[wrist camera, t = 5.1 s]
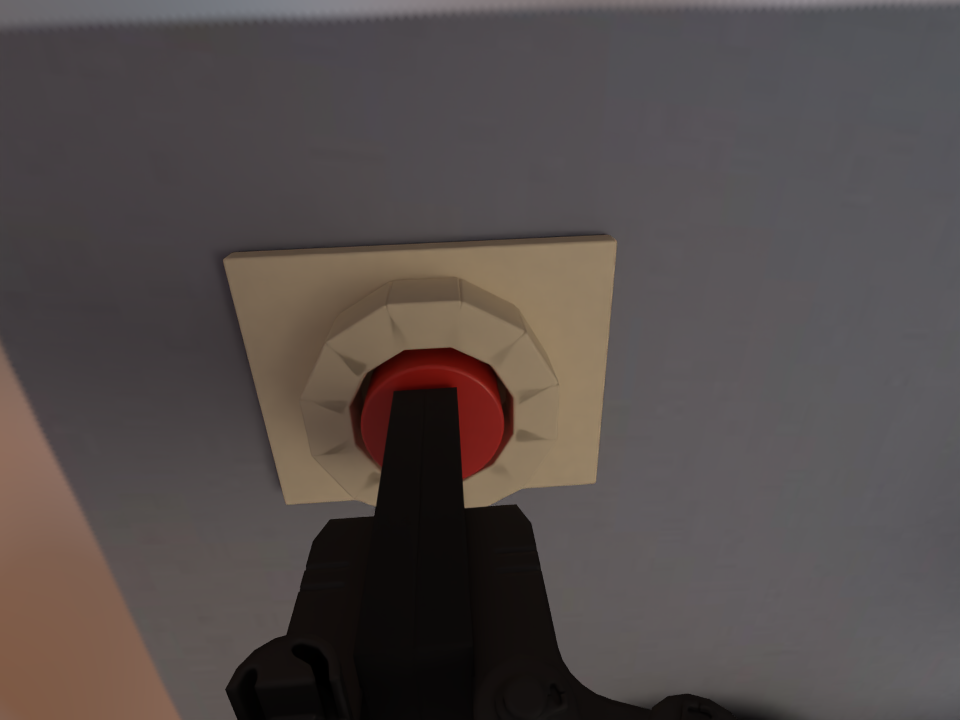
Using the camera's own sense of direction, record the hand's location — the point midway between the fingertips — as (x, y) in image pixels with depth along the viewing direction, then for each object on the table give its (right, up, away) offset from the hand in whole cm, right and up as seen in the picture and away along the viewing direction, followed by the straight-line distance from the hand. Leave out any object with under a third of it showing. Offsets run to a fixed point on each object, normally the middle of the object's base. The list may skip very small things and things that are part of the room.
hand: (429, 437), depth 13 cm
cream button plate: (0, +1, +3) cm, 3 cm away
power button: (0, +1, +2) cm, 2 cm away
